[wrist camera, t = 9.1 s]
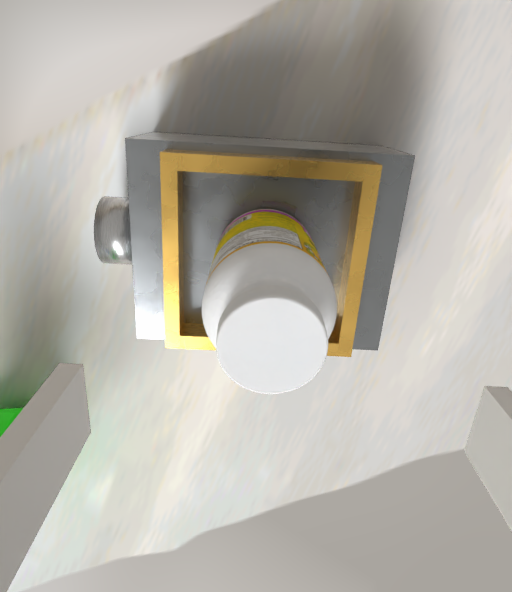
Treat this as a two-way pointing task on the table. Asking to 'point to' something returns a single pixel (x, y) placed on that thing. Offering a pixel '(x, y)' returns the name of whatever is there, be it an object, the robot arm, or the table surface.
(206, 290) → the supplement bottle
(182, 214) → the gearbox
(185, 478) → the table surface
